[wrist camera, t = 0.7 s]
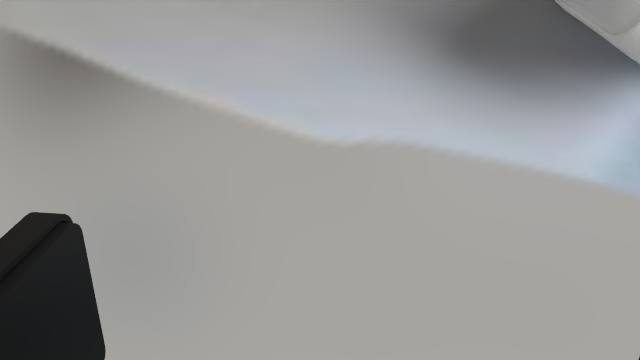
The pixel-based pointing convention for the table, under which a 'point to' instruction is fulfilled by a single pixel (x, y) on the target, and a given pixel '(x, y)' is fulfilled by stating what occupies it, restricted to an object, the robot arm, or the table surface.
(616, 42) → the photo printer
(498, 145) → the table surface
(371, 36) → the table surface
